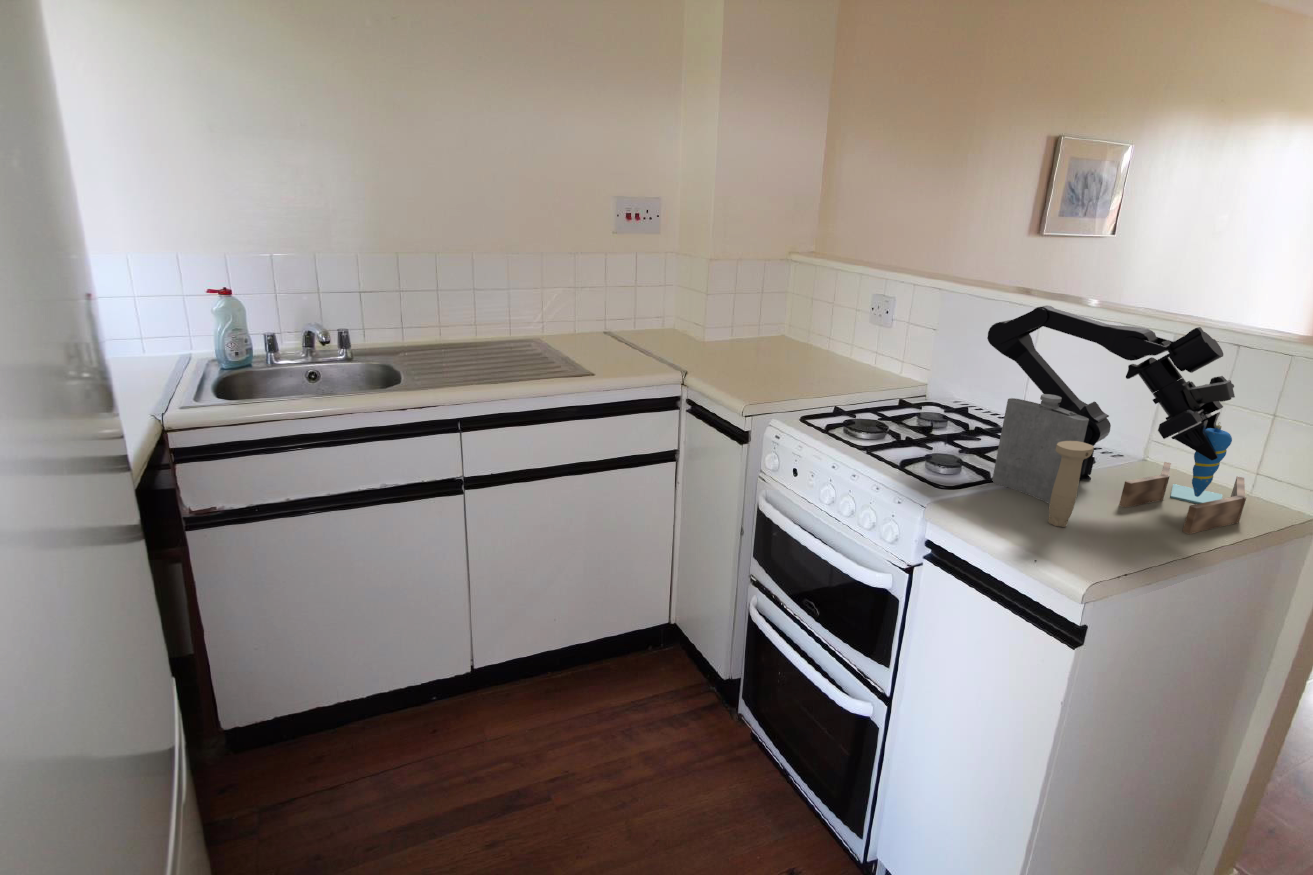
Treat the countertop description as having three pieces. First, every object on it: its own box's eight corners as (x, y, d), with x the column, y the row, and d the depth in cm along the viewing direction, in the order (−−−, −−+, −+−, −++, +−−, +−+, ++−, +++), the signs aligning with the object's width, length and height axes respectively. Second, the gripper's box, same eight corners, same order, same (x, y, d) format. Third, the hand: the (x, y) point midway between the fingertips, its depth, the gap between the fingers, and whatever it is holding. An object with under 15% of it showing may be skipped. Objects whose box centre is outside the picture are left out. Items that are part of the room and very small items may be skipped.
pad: (1221, 508, 147) (1222, 507, 146) (1170, 497, 151) (1170, 495, 151) (1221, 496, 153) (1222, 494, 153) (1172, 485, 158) (1173, 483, 158)
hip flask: (988, 481, 156) (1006, 387, 150) (1000, 477, 158) (1019, 385, 152) (1062, 509, 144) (1085, 407, 137) (1074, 505, 146) (1098, 405, 139)
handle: (1081, 526, 136) (1100, 447, 131) (1057, 532, 133) (1075, 452, 129) (1057, 516, 140) (1075, 439, 135) (1033, 521, 138) (1050, 443, 133)
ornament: (1208, 494, 147) (1231, 420, 142) (1217, 504, 142) (1241, 427, 137) (1177, 489, 148) (1199, 416, 143) (1185, 499, 143) (1208, 423, 139)
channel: (1146, 530, 136) (1153, 504, 134) (1089, 478, 160) (1094, 456, 158) (1301, 543, 133) (1310, 517, 131) (1219, 489, 157) (1226, 466, 155)
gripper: (1196, 369, 134) (1253, 445, 130) (1224, 357, 146) (1276, 426, 142) (1135, 401, 142) (1187, 474, 138) (1166, 387, 154) (1215, 453, 150)
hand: (1218, 456), depth 141 cm, fingers closed on ornament, 5 cm apart
